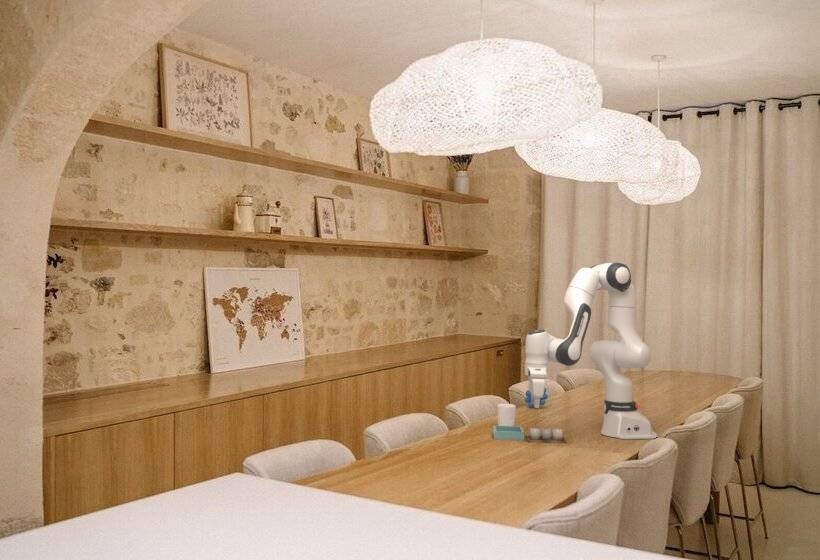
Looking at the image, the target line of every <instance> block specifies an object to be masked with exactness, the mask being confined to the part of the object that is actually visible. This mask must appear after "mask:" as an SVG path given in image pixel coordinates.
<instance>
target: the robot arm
mask: <svg viewBox="0 0 820 560" xmlns="http://www.w3.org/2000/svg"><path fill="white" fill-rule="evenodd" d="M600 290H602V291H607V292H608V295H609V298H608V299H609V300H608V310H607V313H608V314H607V325H608V327H609V328H610V330H612V331H614V332H615V333H617V335H618V336H619V340H612V339H602V340H595V341H594V342H592V344H591V345H590V347H589V353H588V354H589V357H590V360H591V361H592V363H593V364H594V365H596V367H597V368H598V369H599V370H600V372H601V374H602V376H603V377H602V378H603V380H604V388H605V389H604V390H605V392H604V393H605V394H604V397H605V399H604V400H603V413H604V414H603V415H604V416H603V422H602V428H601V431H600V434H602V435H603V436H606V437H612V438H617V439H621V440H637V439H639V440H642V439H644V440H645V439H647V440H649V439H650V440H652V439H653V440H654V438H655V439H657V438H658V434H657V432H655V431H653V429H652V424H651V421H650V420H649V419H648V418H647V417H646V416H645V415H644V414H642V413H641V412H640V411H639V410H638V409H640V408H641V407H642V405H641V404H640V403H637V402H636V401H634V400H633V399H634V398H633V396H634V384H633V382H632V380H631V379H630V378H629V377H628V376H626V375H625V374H623V372H622V370H621V368H625V369H642V368H643V369H644V368H646V367H647V366H648V365H650V362H651V360H652V351H651V349H650V347H649V346H648V345H647V344H646V343H645V342H644V341H643V339H642V338H641V337H640V335H639V333H638V330H637V325H636V324H637V323H636V321H637V320H636V315H637V296H636V295H637V294H636V288H635V285H634V284H632V274H631V271H630V268H629V266H628V265H626V264H624V263H622V262H605V263H601V264H594V265H592V266H591V267H582V268H579V269H578V271H577V272H576V273H575V275H574V276H573V278H572V279H571V281H570V283H569V284H568V286H567V289H566V292H565V293H564V297H563V304H564V307H565V309H566V310H567V311H568V312H570V313H571V314H572V316H573V321H572V324H571V326H570V330H569V333H568V336H567V337H565V338H564V339H563V338H558V337H555V336H553V335H552V334H550V333H549V332H547V330H545V329H533V330H530V331H529V332H527V334H526V337H525V348H524V350H525V351H524V352H525V362H524V376H527V380H528V390H529V391H530V392H531V399H532V404H534V406H533V407H534V409H539V408H540V407H539V403H540V398H542V397H543V394H544V388H545V383H546V379H547V378H548V364H549V363H548V362H551V363H556V364H561V365H564V366H567V367H571V366H575V365H576V364H577V363H578V362H579V361H580V359H581V356H582V351H583V344H584V341H585V336H586V334H587V330H588V327H589V324H590V320H591V315H592V309H591V306H592V302H593V300H594V297H595V295H596V292H597V291H600ZM656 437H657V438H656Z"/></svg>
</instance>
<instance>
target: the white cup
mask: <svg viewBox="0 0 820 560" xmlns="http://www.w3.org/2000/svg"><path fill="white" fill-rule="evenodd" d="M516 407H517V405H516V404H513V403H500V404H497V406H496V408H497V410H496V411H497V426H515V422H516V413H517V412H516V409H517V408H516Z"/></svg>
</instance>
